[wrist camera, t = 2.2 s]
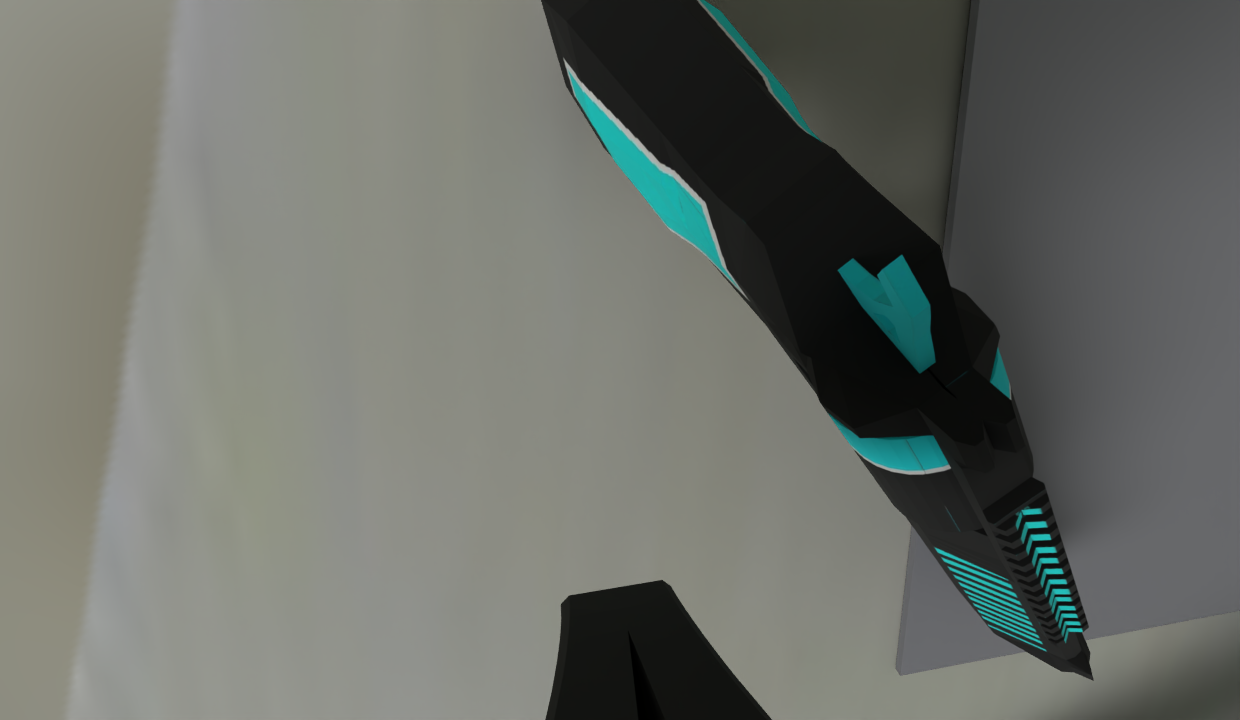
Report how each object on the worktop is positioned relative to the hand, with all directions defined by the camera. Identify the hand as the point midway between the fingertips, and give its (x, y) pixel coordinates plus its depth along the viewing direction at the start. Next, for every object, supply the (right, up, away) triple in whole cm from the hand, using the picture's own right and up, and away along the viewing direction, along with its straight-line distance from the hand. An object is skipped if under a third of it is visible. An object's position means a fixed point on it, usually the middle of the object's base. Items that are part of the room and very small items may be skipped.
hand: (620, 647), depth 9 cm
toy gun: (+6, +4, +9) cm, 11 cm away
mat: (+15, +5, +10) cm, 19 cm away
